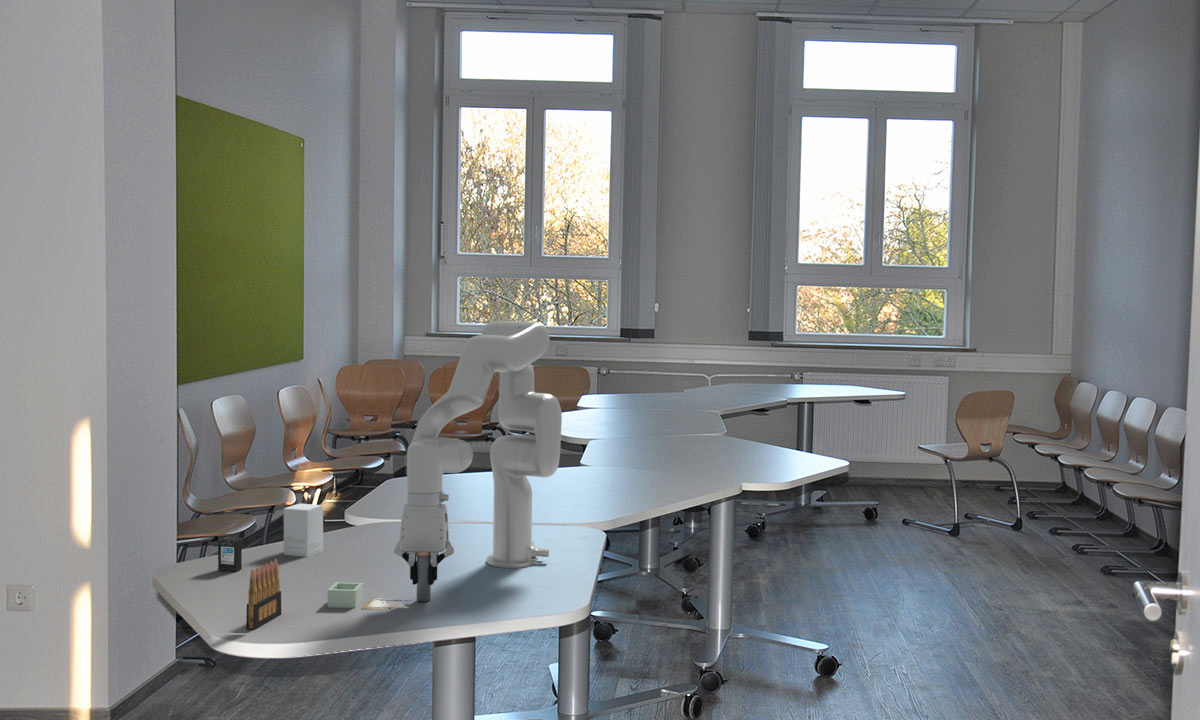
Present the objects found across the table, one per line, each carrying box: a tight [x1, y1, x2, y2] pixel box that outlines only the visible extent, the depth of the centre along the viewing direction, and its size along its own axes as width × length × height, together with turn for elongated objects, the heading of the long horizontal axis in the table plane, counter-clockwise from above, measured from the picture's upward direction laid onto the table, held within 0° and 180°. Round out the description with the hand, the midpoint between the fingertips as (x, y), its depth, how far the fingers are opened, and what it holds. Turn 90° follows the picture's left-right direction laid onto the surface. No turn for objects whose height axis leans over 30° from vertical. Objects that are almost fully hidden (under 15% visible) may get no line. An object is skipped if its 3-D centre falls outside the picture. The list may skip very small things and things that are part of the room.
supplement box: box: [283, 503, 324, 558], centre depth 263 cm, size 7×7×13 cm
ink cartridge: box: [217, 536, 243, 573], centre depth 247 cm, size 5×2×8 cm, turn 80°
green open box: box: [327, 581, 364, 609], centre depth 221 cm, size 6×6×4 cm
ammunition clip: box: [245, 558, 282, 631], centre depth 208 cm, size 11×2×12 cm, turn 168°
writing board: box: [361, 598, 413, 610], centre depth 222 cm, size 15×12×1 cm
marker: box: [416, 552, 432, 602], centre depth 222 cm, size 3×3×12 cm
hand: (423, 582), depth 222 cm, fingers closed on marker, 3 cm apart
